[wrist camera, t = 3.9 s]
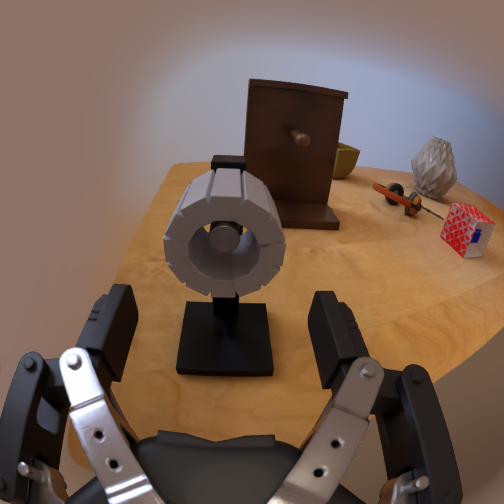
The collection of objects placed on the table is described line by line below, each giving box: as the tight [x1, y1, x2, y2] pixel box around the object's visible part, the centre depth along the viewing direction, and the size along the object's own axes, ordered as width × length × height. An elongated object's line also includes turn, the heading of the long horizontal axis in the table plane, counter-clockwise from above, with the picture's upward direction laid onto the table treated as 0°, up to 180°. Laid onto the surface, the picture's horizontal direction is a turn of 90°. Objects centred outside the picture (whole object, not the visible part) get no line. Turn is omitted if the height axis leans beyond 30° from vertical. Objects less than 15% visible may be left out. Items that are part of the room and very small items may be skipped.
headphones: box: [373, 183, 444, 220], centre depth 55 cm, size 17×5×20 cm
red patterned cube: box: [440, 202, 495, 258], centre depth 42 cm, size 8×8×8 cm
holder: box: [176, 155, 274, 376], centre depth 20 cm, size 8×8×16 cm
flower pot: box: [332, 142, 360, 179], centre depth 69 cm, size 9×9×9 cm
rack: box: [244, 79, 348, 230], centre depth 41 cm, size 16×10×23 cm, turn 93°
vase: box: [411, 136, 457, 200], centre depth 65 cm, size 16×16×18 cm
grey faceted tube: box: [163, 168, 286, 298], centre depth 17 cm, size 7×5×7 cm
